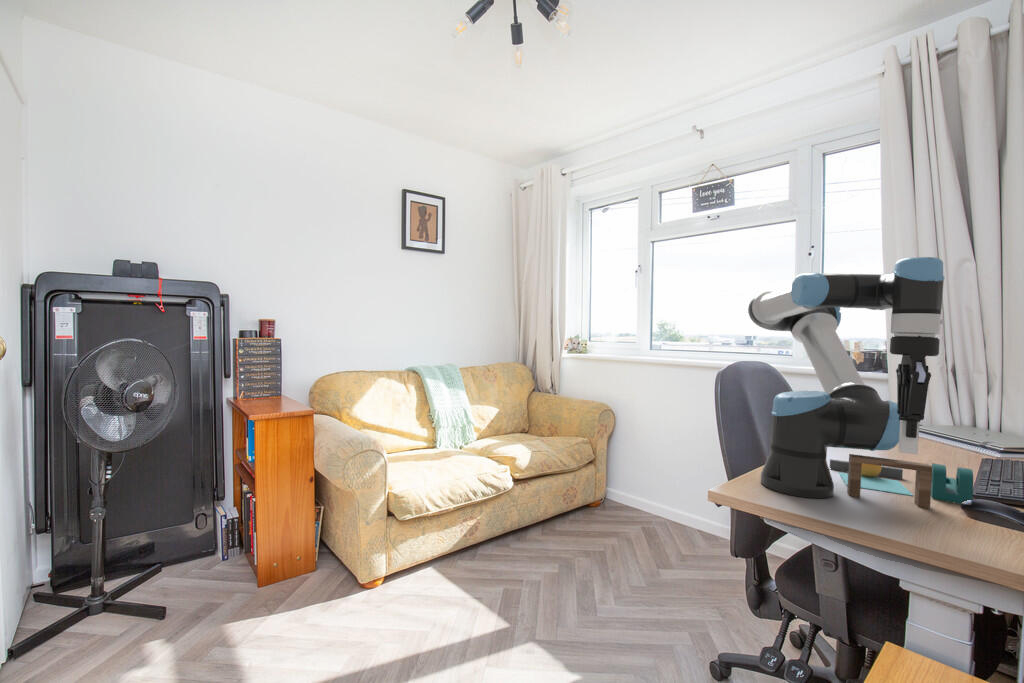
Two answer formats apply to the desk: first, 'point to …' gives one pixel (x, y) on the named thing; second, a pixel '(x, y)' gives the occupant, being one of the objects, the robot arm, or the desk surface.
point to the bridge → (922, 469)
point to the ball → (870, 470)
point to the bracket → (951, 484)
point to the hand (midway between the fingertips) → (907, 452)
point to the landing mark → (879, 484)
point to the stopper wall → (884, 472)
